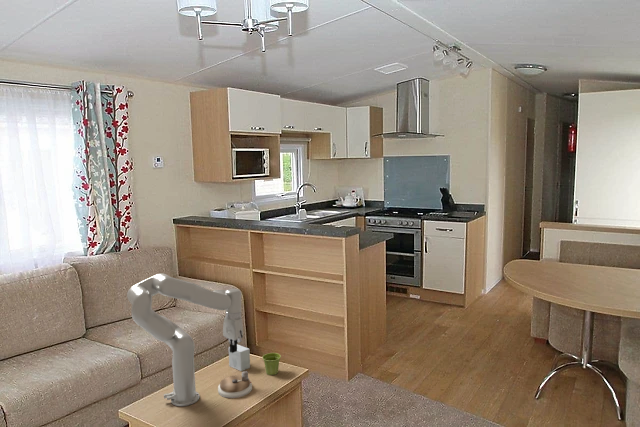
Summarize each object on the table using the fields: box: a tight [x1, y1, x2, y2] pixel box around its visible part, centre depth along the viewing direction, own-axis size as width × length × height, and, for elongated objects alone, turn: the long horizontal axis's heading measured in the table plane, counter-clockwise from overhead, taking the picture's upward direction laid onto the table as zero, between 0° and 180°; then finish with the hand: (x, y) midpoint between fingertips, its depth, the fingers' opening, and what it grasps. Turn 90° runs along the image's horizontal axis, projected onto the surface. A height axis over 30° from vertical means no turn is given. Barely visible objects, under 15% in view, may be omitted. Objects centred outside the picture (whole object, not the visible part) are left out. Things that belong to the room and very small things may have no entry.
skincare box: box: [228, 344, 251, 372], centre depth 247 cm, size 10×6×10 cm, turn 49°
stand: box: [217, 380, 253, 399], centre depth 223 cm, size 16×16×2 cm
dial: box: [219, 370, 251, 392], centre depth 222 cm, size 14×14×5 cm
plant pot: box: [261, 352, 282, 376], centre depth 239 cm, size 9×9×9 cm
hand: (233, 351), depth 227 cm, fingers closed
